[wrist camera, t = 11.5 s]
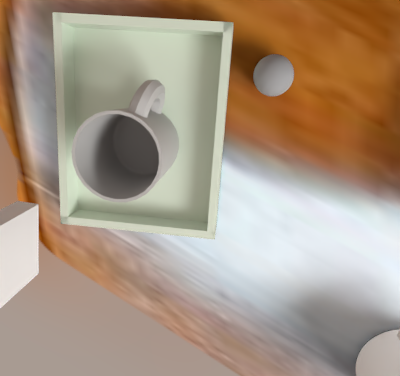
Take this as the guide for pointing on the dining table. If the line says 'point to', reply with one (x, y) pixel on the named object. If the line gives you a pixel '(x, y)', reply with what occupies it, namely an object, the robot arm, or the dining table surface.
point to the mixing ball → (273, 75)
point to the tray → (173, 108)
